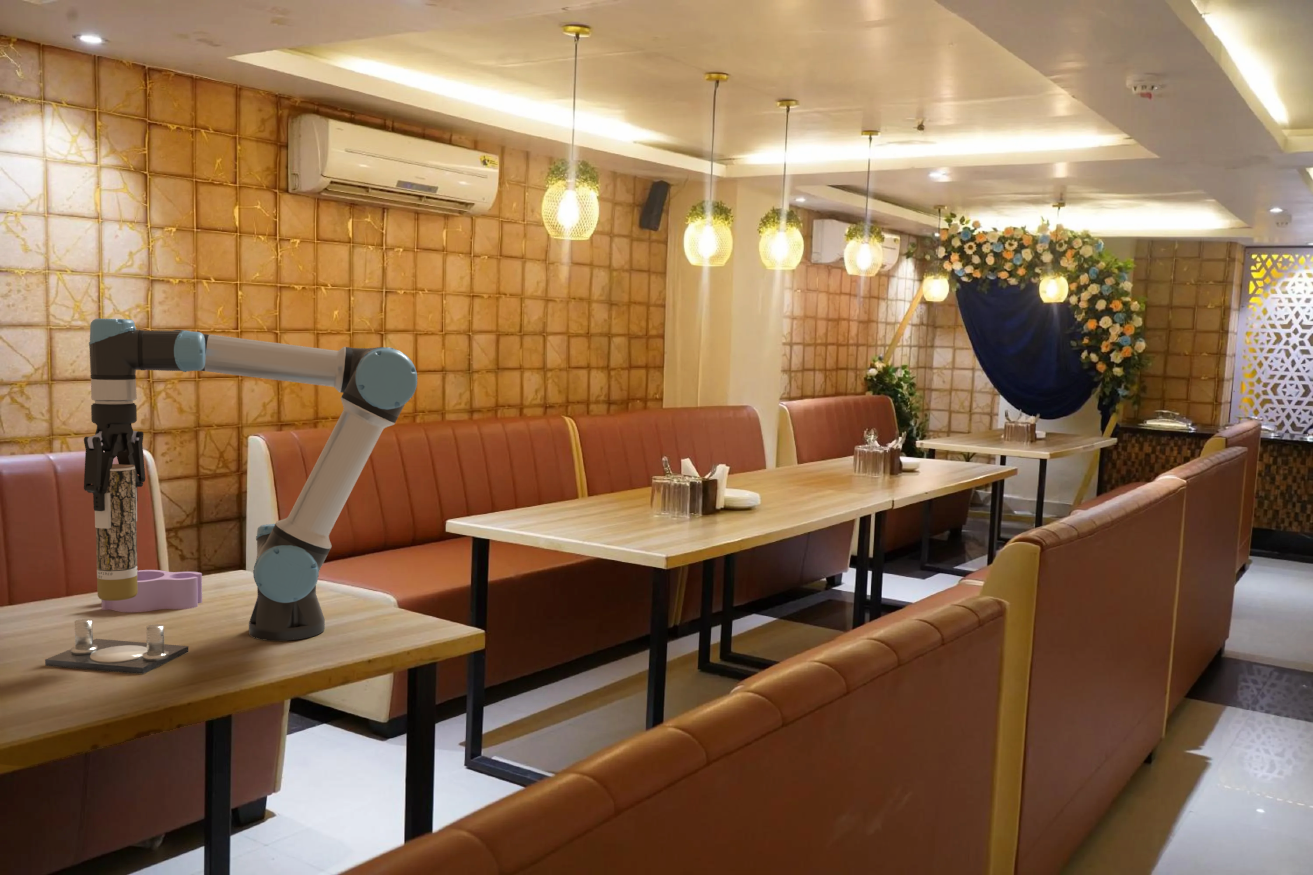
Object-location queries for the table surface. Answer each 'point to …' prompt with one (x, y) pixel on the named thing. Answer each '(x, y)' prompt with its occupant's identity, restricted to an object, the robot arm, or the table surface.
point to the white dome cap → (118, 654)
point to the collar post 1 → (83, 638)
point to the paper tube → (118, 539)
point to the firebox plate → (130, 666)
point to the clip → (161, 592)
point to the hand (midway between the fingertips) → (116, 524)
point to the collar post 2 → (155, 643)
